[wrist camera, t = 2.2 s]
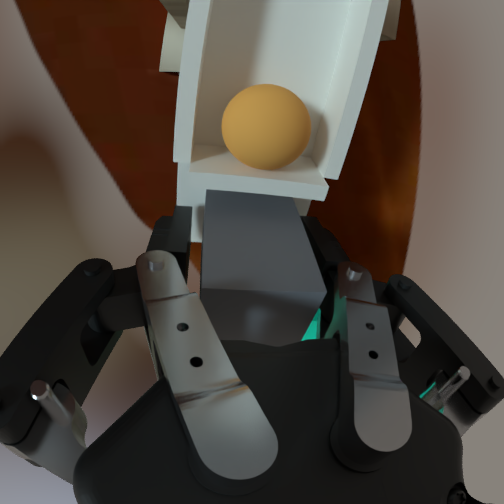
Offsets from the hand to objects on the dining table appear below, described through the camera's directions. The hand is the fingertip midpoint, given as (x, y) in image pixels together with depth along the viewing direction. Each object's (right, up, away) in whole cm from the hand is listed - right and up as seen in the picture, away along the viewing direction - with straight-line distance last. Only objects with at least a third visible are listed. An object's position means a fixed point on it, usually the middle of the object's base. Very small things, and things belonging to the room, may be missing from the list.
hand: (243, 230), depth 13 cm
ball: (+1, +3, -4) cm, 5 cm away
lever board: (+1, +9, -4) cm, 10 cm away
